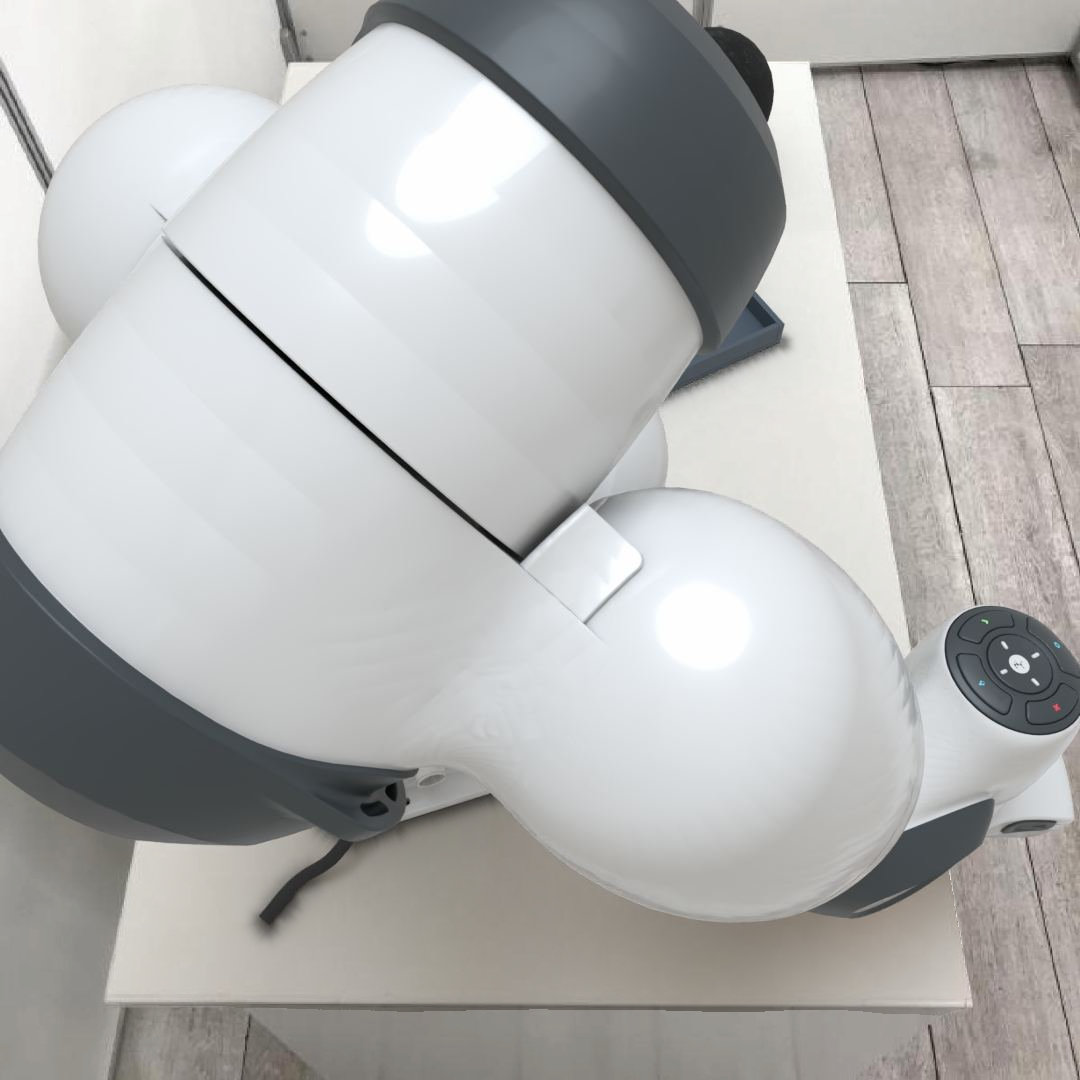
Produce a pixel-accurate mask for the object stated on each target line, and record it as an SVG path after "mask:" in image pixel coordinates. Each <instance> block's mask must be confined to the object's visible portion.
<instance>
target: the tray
mask: <svg viewBox="0 0 1080 1080" xmlns="http://www.w3.org/2000/svg"><path fill="white" fill-rule="evenodd" d="M784 328H785V322H783V320H781V318H780V317H779V316H778V315H777V314H776V313H775V312H774V310H773V309H772V308H771V306H769V305H768V303H766V301H765V300H764V299H763V298H762V297H761V296H760V294H759V293H757V291H755V292H754V294H753V295H752V297H751V299H750V300H749V302H748V304H747V305H746V307H745V309H744V310H743V312H742V314H741V315H740V317H739V318H738V320H737V321H736V323H735V324H734V326H733V327H732V329H731V330H730V332H729V333H728V335H727V336H726V338H725V339H724V341H723V342H722V344H721V345H720V347H719V348H718V350H717V351H716V352H715V353H713V354H710V355H704V356H703V355H695V356H694V358H693V359H692V361H691V362H690V364H689V365H688V366H687V368H686V369H685V371H684V372H683V374H682V375H681V377H680V378H679V380H678V381H677V383H676V384H675V386H674V387H673V389H672V390H671V391H670V393H671V392H673V391H675V390H677V389H680V388H682V387H684V386H686V385H689V384H691V383H693V382H696V381H697V380H700V379H702V378H704V377H706V376H708V375H711V374H713V373H715V372H718V371H719V370H722V369H723V368H726V367H728V366H730V365H733V364H735V363H737V362H739V361H741V360H744V359H746V358H749V357H751V356H752V355H755V354H758V353H759V352H761V351H764V350H765V349H768V348H770V347H772V346H775V345H778V344H779V343H780V342H781V339H782V336H783V332H784Z"/></svg>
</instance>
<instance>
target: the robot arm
mask: <svg viewBox="0 0 1080 1080" xmlns="http://www.w3.org/2000/svg"><path fill="white" fill-rule="evenodd" d="M786 223H787V202H786V194H785V189H784V185H783V176H782V171H781V166H780V160H779V155H778V150H777V146H776V142H775V140H774V137H773V133H772V131H771V128H770V126H769V123H768V122H767V121H766V119H765V117H764V115H763V113H762V111H761V109H760V107H759V105H758V103H757V101H756V100H755V98H754V96H753V94H752V93H751V91H750V89H749V87H748V86H747V84H746V83H745V81H744V80H743V78H742V77H741V75H740V74H739V73H738V71H737V70H736V68H735V67H734V65H733V64H732V63H731V61H730V60H729V59H728V57H727V56H726V55H725V53H724V52H723V51H722V49H721V48H720V47H719V46H718V44H717V43H716V42H715V41H714V40H713V38H712V37H711V36H710V35H709V34H708V33H707V32H706V30H705V29H704V27H703V26H702V25H701V23H700V22H699V21H698V20H697V19H696V18H695V17H694V16H693V15H692V14H691V13H690V12H689V11H688V10H687V9H686V8H685V7H684V6H683V5H682V4H681V3H680V2H679V0H377V1H376V2H374V3H373V4H371V5H370V6H369V7H368V9H366V12H365V14H364V17H363V21H362V25H361V27H360V30H359V32H358V33H357V34H356V36H355V37H354V40H353V41H352V43H351V45H350V47H349V48H347V49H346V50H345V51H343V52H342V53H341V54H340V55H339V56H337V58H335V59H334V60H333V61H331V62H330V63H329V64H327V66H325V67H324V68H323V69H322V70H320V72H318V73H317V74H316V75H315V76H314V77H312V78H311V79H310V80H309V81H308V82H307V83H306V84H304V86H302V87H301V88H300V89H299V90H298V91H297V92H296V93H294V94H293V95H292V96H291V97H290V98H289V99H288V100H286V102H284V103H283V104H280V103H277V102H275V101H274V100H271V99H269V98H267V97H265V96H263V95H260V94H257V93H255V92H252V91H249V90H245V89H241V88H238V87H234V86H229V85H220V84H213V83H181V84H175V85H170V86H163V87H160V88H157V89H154V90H150V91H147V92H144V93H141V94H138V95H136V96H133V97H131V98H130V99H128V100H125V101H123V102H121V103H119V104H117V105H116V106H115V107H113V108H111V109H110V110H108V111H107V112H105V113H103V114H102V115H101V116H99V118H97V119H96V120H94V122H92V123H91V124H90V125H89V126H88V127H87V128H86V129H85V130H84V131H83V132H82V133H81V134H80V135H79V136H78V137H77V139H76V140H75V141H74V142H73V143H72V145H71V146H70V147H69V148H68V150H67V151H66V153H65V154H64V156H63V157H62V159H61V160H60V162H59V163H58V166H57V168H56V170H55V171H54V173H53V175H52V177H51V180H50V182H49V184H48V187H47V190H46V192H45V195H44V198H43V203H42V206H41V211H40V215H39V224H38V234H37V263H38V264H37V265H38V270H39V275H40V280H41V281H40V282H41V285H42V288H43V291H44V294H45V297H46V300H47V304H48V307H49V310H50V312H51V314H52V316H53V319H54V320H55V322H56V324H57V326H58V328H59V330H60V331H61V333H62V335H63V336H64V337H65V339H66V340H67V342H68V343H69V344H70V347H69V348H68V350H67V351H66V352H65V354H64V355H63V356H62V358H61V360H60V361H59V363H58V364H57V365H56V367H55V368H54V370H53V371H52V372H51V374H50V375H49V377H48V378H47V379H46V381H45V382H44V383H43V385H42V386H41V388H40V389H39V391H38V393H37V394H36V395H35V396H34V397H33V399H32V401H31V402H30V403H29V405H28V406H27V408H26V409H25V410H24V412H23V413H22V415H21V417H20V418H19V420H18V422H17V423H16V425H15V426H14V427H13V429H12V431H11V432H10V434H9V435H8V437H7V439H6V440H5V442H4V443H3V445H2V446H1V447H0V775H1V776H3V778H5V779H6V780H8V781H9V782H10V783H11V784H13V785H14V786H15V787H17V788H18V789H20V790H21V791H22V792H24V793H25V794H27V795H28V796H30V797H31V798H32V799H35V800H36V801H38V802H39V803H40V804H42V805H44V806H45V807H48V808H49V809H51V810H53V811H54V812H56V813H58V814H60V815H62V816H64V817H65V818H68V819H69V820H72V821H74V822H76V823H79V824H81V825H83V826H84V827H85V826H86V827H87V828H89V829H90V828H91V829H92V830H95V831H99V832H101V833H104V834H108V835H110V836H114V837H117V838H118V837H119V838H123V839H126V840H131V841H140V842H151V843H152V842H153V843H161V844H162V843H163V844H174V845H175V844H177V845H193V846H194V845H196V846H197V845H198V846H231V847H238V846H239V847H240V846H241V847H249V846H256V845H259V844H264V843H266V842H270V841H274V840H277V839H281V838H282V839H283V838H285V837H289V836H292V835H295V834H298V833H301V832H305V831H307V830H310V829H313V828H316V827H317V828H319V829H321V830H322V831H324V832H326V833H327V834H329V835H331V836H332V837H335V838H338V840H337V842H336V843H335V845H333V846H332V848H331V849H330V850H329V851H328V852H327V853H326V854H325V855H324V856H323V857H321V858H319V859H318V860H316V861H315V862H314V863H311V864H310V865H308V866H306V867H305V868H302V869H301V870H300V871H298V872H297V873H296V874H294V875H293V876H292V877H291V878H290V879H289V880H288V881H287V882H286V883H285V884H284V885H283V886H282V887H281V888H280V890H278V891H277V892H276V894H275V895H274V897H273V898H272V899H271V900H270V901H269V903H268V904H267V905H266V906H265V907H264V909H263V910H262V911H261V912H260V913H259V915H258V917H259V918H260V919H261V920H262V921H263V922H265V923H266V924H267V925H270V924H271V923H272V922H273V920H275V919H276V917H277V915H278V914H279V913H280V912H281V910H282V909H283V908H284V906H286V905H287V903H288V902H289V901H290V899H291V898H292V897H293V896H294V895H295V894H297V892H298V891H299V890H300V889H302V887H304V886H305V885H306V884H307V883H308V882H310V881H312V880H314V879H315V878H317V877H319V876H321V875H323V874H324V873H326V872H327V871H329V870H330V869H332V868H333V867H334V866H335V865H336V864H337V863H339V862H340V860H342V859H343V857H344V856H345V855H346V854H347V853H348V851H349V850H350V848H351V847H352V846H353V844H354V842H361V841H362V842H363V841H365V840H368V839H370V838H373V837H375V836H377V835H380V834H381V833H384V832H387V831H389V830H391V829H393V828H394V827H396V826H397V825H398V824H400V823H401V822H403V821H406V820H410V819H413V818H416V817H419V816H422V815H426V814H429V813H432V812H435V811H439V810H443V809H445V808H448V807H452V806H454V805H458V804H461V803H464V802H466V801H471V800H474V799H477V798H480V797H483V796H486V795H489V794H491V795H492V796H493V797H494V798H495V799H496V800H497V801H498V802H499V803H501V805H502V806H503V807H504V808H505V809H506V810H507V811H508V812H509V813H510V814H511V815H512V817H513V818H514V819H515V820H516V821H517V822H518V823H519V824H520V825H521V826H522V827H523V829H525V831H527V832H528V833H529V834H530V835H531V836H532V837H533V838H534V839H535V840H536V841H538V842H539V844H541V845H542V846H543V847H544V848H545V849H546V850H547V851H549V853H551V854H552V855H553V856H555V857H556V858H557V859H558V860H560V861H561V862H563V864H565V865H567V866H568V867H569V868H571V869H572V870H573V871H575V872H576V873H578V874H579V875H581V877H584V878H586V879H587V880H589V881H590V882H592V883H594V884H595V885H597V886H599V887H601V888H603V889H604V890H606V891H608V892H610V893H612V894H614V895H616V896H618V897H620V898H623V899H625V900H627V901H630V902H633V903H634V904H637V905H640V906H643V907H644V908H647V909H650V910H652V911H655V912H656V911H657V912H661V913H665V914H669V915H673V916H677V917H681V918H685V919H689V920H694V921H703V922H712V923H714V922H715V923H757V922H758V923H759V922H768V921H775V920H780V919H784V918H789V917H793V916H796V915H800V914H802V913H805V912H809V913H811V914H816V915H822V916H827V917H828V916H829V917H834V918H842V919H849V920H851V919H859V918H862V917H866V916H869V915H872V914H875V913H877V912H880V911H882V910H885V909H887V908H889V907H891V906H894V905H895V904H898V903H899V902H901V901H903V900H905V899H907V898H909V897H911V896H912V895H914V894H915V893H917V892H919V891H920V890H922V889H923V888H925V887H927V886H928V885H930V884H932V883H934V881H936V880H937V879H939V877H941V876H943V875H944V874H945V873H946V872H948V871H949V870H950V869H952V868H953V867H955V865H956V864H958V863H959V862H961V861H962V860H964V859H966V858H967V857H968V856H969V855H970V854H972V853H973V852H975V851H976V850H977V849H978V848H980V847H981V846H983V843H984V841H985V839H987V838H988V839H990V838H992V839H996V838H997V839H998V838H1000V839H1003V838H1007V839H1008V838H1010V839H1011V838H1012V839H1025V838H1026V839H1027V838H1034V837H1038V836H1039V837H1041V836H1043V835H1045V834H1048V833H1050V832H1052V831H1053V830H1059V829H1062V828H1065V827H1067V826H1068V825H1070V824H1072V823H1073V822H1074V821H1075V810H1074V802H1073V796H1072V790H1071V785H1070V781H1069V777H1068V772H1067V769H1066V765H1065V761H1064V758H1063V754H1064V752H1065V751H1066V750H1067V749H1068V747H1069V746H1070V744H1072V742H1073V740H1074V739H1075V737H1076V735H1077V734H1078V731H1079V730H1080V663H1079V662H1078V660H1077V659H1076V657H1075V655H1074V654H1073V653H1072V652H1071V650H1070V649H1069V648H1068V647H1067V645H1065V643H1064V642H1063V640H1061V638H1059V637H1058V636H1057V634H1055V633H1054V632H1053V631H1052V630H1051V629H1050V627H1048V626H1047V625H1045V624H1044V623H1043V622H1041V621H1040V620H1039V619H1037V618H1035V617H1034V616H1032V615H1030V614H1027V613H1025V612H1023V611H1020V610H1018V609H1015V608H1013V607H1009V606H1004V605H998V604H987V603H986V604H976V605H971V606H968V607H965V608H963V609H961V610H959V611H957V612H955V613H953V614H952V615H951V616H949V617H948V618H946V619H945V620H943V621H942V622H941V623H939V624H938V625H937V626H936V627H935V628H933V629H932V630H931V631H930V632H929V633H928V634H926V636H925V637H923V638H922V639H921V640H920V641H919V642H918V643H917V644H916V645H915V646H914V648H912V649H911V650H910V651H909V653H908V654H907V655H906V656H905V657H904V656H903V653H902V651H901V649H900V646H899V644H898V642H897V641H896V638H895V636H894V634H893V633H892V631H891V630H890V628H889V626H888V624H887V623H886V621H885V620H884V619H883V617H882V615H881V613H880V612H879V610H878V609H877V607H876V606H875V604H874V603H873V602H872V600H871V599H870V598H869V597H868V595H866V593H865V591H863V589H862V588H861V587H860V586H859V584H857V582H856V581H855V580H854V579H853V578H852V577H851V576H850V575H849V574H848V572H846V571H845V569H843V567H841V566H840V565H839V564H838V563H837V562H836V561H835V560H834V559H833V558H831V557H830V556H829V555H828V553H826V552H825V551H824V550H823V549H821V547H819V546H818V545H816V544H815V543H814V542H812V541H810V539H808V538H807V537H806V536H804V535H802V534H801V533H799V532H798V531H797V530H796V529H793V528H792V527H791V526H789V525H788V524H786V523H784V522H783V521H781V520H779V519H778V518H775V517H773V516H772V515H770V514H768V513H766V512H764V510H761V509H759V508H756V507H754V506H752V505H750V504H747V503H746V502H743V501H741V500H739V499H737V498H734V497H730V496H726V495H723V494H720V493H715V492H712V491H708V490H700V489H694V488H687V487H679V486H673V487H672V486H666V482H667V478H668V471H669V444H668V438H667V432H666V429H665V425H664V422H663V419H662V417H661V414H660V411H659V409H660V408H661V406H662V405H663V404H664V403H665V400H666V399H667V397H668V396H669V394H670V393H671V392H672V391H671V390H672V389H673V387H674V386H675V384H676V383H677V381H678V380H679V378H680V377H681V375H682V374H683V372H684V371H685V369H686V368H687V366H688V365H689V364H690V362H691V361H692V359H693V358H694V356H695V355H703V356H704V355H710V354H713V353H715V352H716V351H717V350H718V348H719V347H720V345H721V344H722V342H723V341H724V339H725V338H726V336H727V335H728V333H729V332H730V330H731V329H732V327H733V326H734V324H735V323H736V321H737V320H738V318H739V317H740V315H741V314H742V312H743V310H744V309H745V307H746V305H747V304H748V302H749V300H750V299H751V297H752V295H753V294H754V292H756V290H757V289H758V286H759V285H760V284H761V282H762V279H763V277H764V276H765V273H766V272H767V269H768V268H769V267H770V264H771V262H772V260H773V257H774V255H775V253H776V251H777V249H778V247H779V243H780V241H781V239H782V237H783V234H784V231H785V228H786ZM670 391H671V392H670ZM665 486H666V487H665ZM407 802H409V804H407Z"/></svg>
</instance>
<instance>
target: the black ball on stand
mask: <svg viewBox="0 0 1080 1080" xmlns="http://www.w3.org/2000/svg"><path fill="white" fill-rule="evenodd" d="M703 28H704V29H705V30H706V32H707V33H708V34H709V35H710V36H711V37H712V38H713V40H714V41H715V42H716V43H717V44H718V46H719V47H720V48H721V49H722V51H723V52H724V53H725V55H726V56H727V57H728V59H729V60H730V61H731V63H732V64H733V65H734V67H735V68H736V70H737V71H738V73H739V74H740V75H741V77H742V78H743V80H744V81H745V83H746V84H747V86H748V87H749V89H750V91H751V93H752V94H753V96H754V98H755V100H756V101H757V103H758V105H759V107H760V109H761V111H762V113H763V115H764V117H765V119H766V121H767V123H768V122H769V120H770V116H771V114H772V111H773V110H772V109H773V105H774V99H775V98H774V97H775V87H774V86H775V85H774V80H773V72H772V70H771V68H770V65H769V62H768V61H767V58H766V56H765V55H764V53H763V52H762V51H761V49H760V48H759V47H758V45H757V44H756V43H755V42H754V41H753V40H751V39H750V38H749V37H747V36H746V35H744V34H742V33H741V32H739V31H736V30H735V29H732V28H727V27H723V26H704V27H703Z"/></svg>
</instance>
